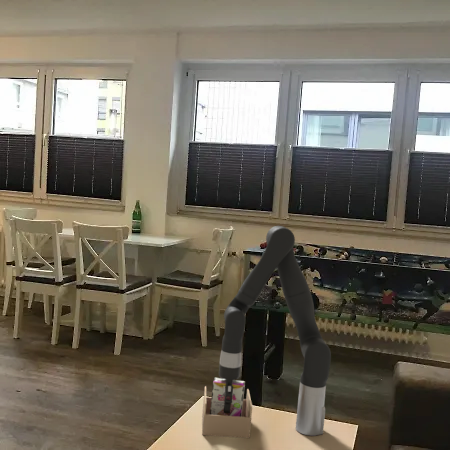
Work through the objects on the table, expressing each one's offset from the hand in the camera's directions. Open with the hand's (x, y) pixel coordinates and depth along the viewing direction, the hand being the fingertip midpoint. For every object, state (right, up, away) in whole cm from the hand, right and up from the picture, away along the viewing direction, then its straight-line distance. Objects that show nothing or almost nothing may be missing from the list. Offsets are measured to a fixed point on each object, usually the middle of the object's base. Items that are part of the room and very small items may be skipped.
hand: (226, 408), depth 200 cm
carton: (0, -7, 0) cm, 7 cm away
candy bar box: (0, -7, 0) cm, 7 cm away
